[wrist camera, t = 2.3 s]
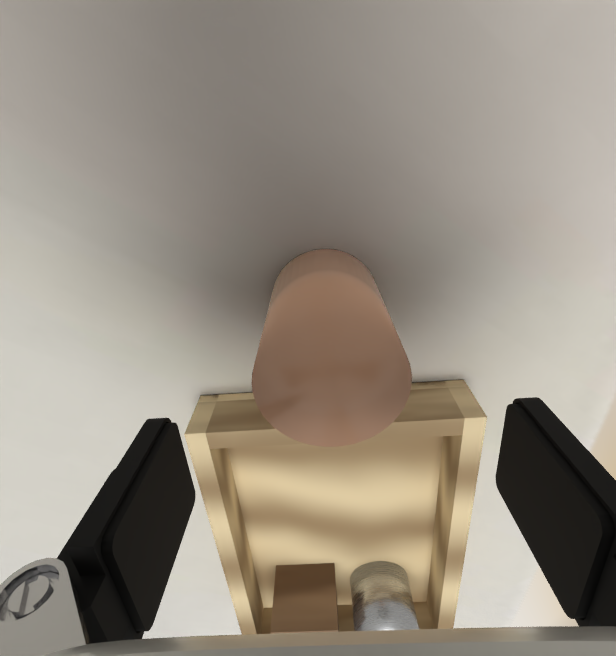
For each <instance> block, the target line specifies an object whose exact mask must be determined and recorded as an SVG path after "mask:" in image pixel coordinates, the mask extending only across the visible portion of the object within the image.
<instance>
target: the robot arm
mask: <svg viewBox="0 0 616 656" xmlns="http://www.w3.org/2000/svg"><path fill="white" fill-rule="evenodd" d="M496 484H497V488H498V490H499V492H500V494H501V496H502V498H503V500H504V502H505V503H506V505H507V507H508V509H509V511H510V513H511V514H512V516H513V518H514V520H515V522H516V524H517V525H518V527H519V529H520V531H521V533H522V535H523V537H524V538H525V540H526V542H527V544H528V546H529V548H530V549H531V551H532V553H533V555H534V557H535V559H536V560H537V562H538V564H539V566H540V568H541V570H542V571H543V573H544V575H545V577H546V579H547V581H548V583H549V584H550V586H551V588H552V590H553V592H554V594H555V595H556V597H557V599H558V601H559V603H560V605H561V606H562V608H563V610H564V612H565V613H566V615H567V616H568V617H569V618H571V619H575V620H576V621H577V623H578V625H579V627H502V628H457V629H415V630H379V631H343V632H309V633H278V634H248V635H219V636H190V637H172V638H153V639H142V636H143V634H144V631H149V630H150V629H151V627H152V625H153V623H154V620H155V617H156V614H157V611H158V608H159V605H160V602H161V599H162V596H163V593H164V591H165V588H166V585H167V582H168V579H169V576H170V573H171V570H172V567H173V564H174V561H175V558H176V556H177V553H178V550H179V547H180V544H181V541H182V538H183V535H184V532H185V529H186V526H187V523H188V521H189V518H190V515H191V512H192V509H193V506H194V502H195V489H194V485H193V482H192V478H191V474H190V471H189V467H188V463H187V459H186V456H185V452H184V448H183V445H182V441H181V437H180V433H179V430H178V426H177V424H176V423H172V422H171V420H170V419H169V418H156V419H148V420H147V421H146V422H145V423H144V425H143V426H142V428H141V429H140V431H139V433H138V434H137V436H136V437H135V439H134V441H133V442H132V444H131V445H130V447H129V449H128V450H127V452H126V453H125V455H124V457H123V458H122V460H121V461H120V463H119V464H118V466H117V468H116V469H115V470H113V472H112V473H111V474H110V475H109V477H108V479H107V480H106V482H105V483H104V485H103V486H102V488H101V490H100V491H99V493H98V494H97V496H96V497H95V499H94V501H93V502H92V504H91V505H90V507H89V509H88V510H87V512H86V513H85V515H84V516H83V518H82V520H81V521H80V523H79V524H78V526H77V527H76V529H75V531H74V532H73V534H72V535H71V537H70V538H69V540H68V542H67V543H66V545H65V546H64V548H63V549H62V551H61V553H60V554H59V556H58V557H57V558H45V559H41V560H37V561H34V562H32V563H30V564H28V565H25V566H24V567H22V568H21V569H19V570H18V571H16V572H14V573H13V574H12V575H11V576H9V577H8V578H7V579H6V580H5V581H4V582H3V583H2V584H1V585H0V656H616V480H615V479H614V478H613V477H612V476H611V475H610V474H609V473H608V472H607V471H606V469H604V467H603V466H602V465H601V464H600V463H599V462H598V461H597V460H596V459H595V457H594V456H593V455H592V454H591V453H590V452H589V451H588V450H587V449H586V448H585V447H584V446H583V445H582V444H581V443H580V442H579V440H578V439H577V438H576V437H575V436H574V435H573V434H572V433H571V432H570V431H569V429H568V428H567V427H566V426H565V425H564V424H563V423H562V422H561V421H560V420H559V419H558V417H557V416H556V415H555V414H554V413H553V412H552V411H551V410H550V409H549V408H548V407H547V405H546V404H545V403H544V402H543V401H542V400H541V399H540V398H537V397H536V398H518V399H515V400H514V401H513V404H509V405H508V406H507V409H506V416H505V422H504V428H503V434H502V441H501V447H500V453H499V459H498V466H497V472H496Z"/></svg>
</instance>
